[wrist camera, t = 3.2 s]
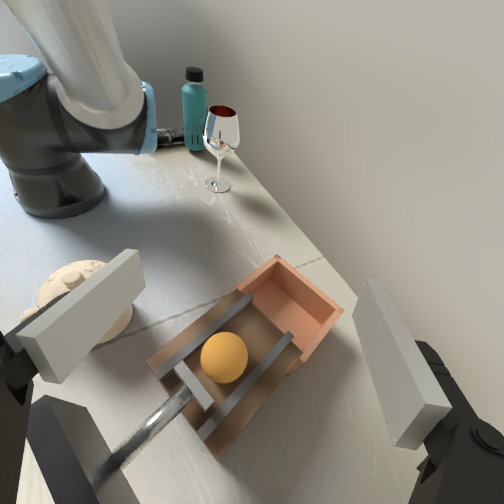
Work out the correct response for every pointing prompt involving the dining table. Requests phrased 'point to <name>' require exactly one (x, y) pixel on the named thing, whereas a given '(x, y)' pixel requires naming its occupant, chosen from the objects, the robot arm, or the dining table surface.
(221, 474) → the dining table surface
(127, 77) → the robot arm
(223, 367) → the ball
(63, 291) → the teacup with lid
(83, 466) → the plunger
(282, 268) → the cup
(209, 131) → the wineglass
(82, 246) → the dining table surface
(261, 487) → the dining table surface
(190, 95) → the beverage bottle
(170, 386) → the launcher
